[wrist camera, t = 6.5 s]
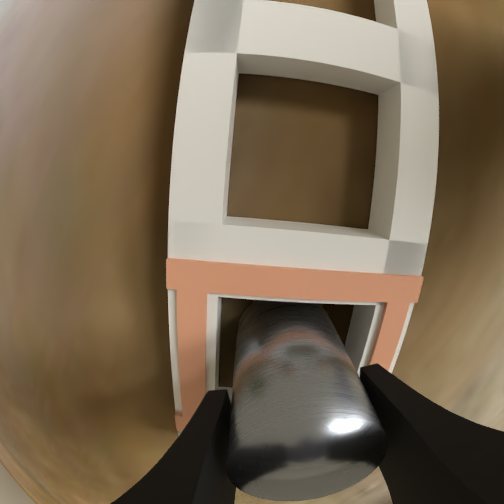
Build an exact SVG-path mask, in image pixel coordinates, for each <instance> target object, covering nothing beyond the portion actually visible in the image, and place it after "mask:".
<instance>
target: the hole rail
mask: <svg viewBox="0 0 504 504" xmlns="http://www.w3.org/2000/svg"><path fill="white" fill-rule="evenodd" d="M374 6H375V16H376V22H375V21H371V20H368V19H365V18H361V17H357V16H353V15H349V14H345V13H341V12H337V11H332V10H327V9H322V8H317V7H311V6H305V5H299V4H292V3H284V2H275V1H264V0H194V5H193V10H192V14H191V19H190V25H189V30H188V35H187V41H186V46H185V52H184V59H183V65H182V72H181V78H180V86H179V93H178V101H177V110H176V119H175V128H174V138H173V150H172V163H171V177H170V195H169V219H168V258H167V259H166V289H168V313H169V337H170V354H171V368H172V381H173V392H174V402H175V412H176V413H175V422H176V430H178V437H179V435H180V434H181V432H182V431H183V429H184V428H185V426H186V425H187V424H188V422H189V421H190V419H191V417H192V416H193V414H194V413H195V411H196V409H197V408H198V406H199V404H200V403H201V401H202V399H203V398H204V396H205V394H206V393H207V392H208V391H209V390H223V389H227V391H228V395H229V398H230V402H231V400H232V388H233V387H221V386H218V381H219V350H220V325H221V303H222V297H227V298H239V299H253V300H268V301H284V302H302V303H324V304H351V305H354V308H353V313H352V317H351V321H350V326H349V330H348V334H347V338H346V342H345V346H344V347H345V349H346V351H347V353H348V355H349V357H350V359H351V361H352V363H353V365H354V367H355V369H356V371H357V373H358V376H359V378H360V367H364V366H368V365H372V364H376V363H378V364H379V365H381V366H382V367H383V368H385V369H386V370H387V371H389V372H390V373H392V371H393V368H394V365H395V363H396V360H397V357H398V354H399V351H400V348H401V345H402V342H403V339H404V336H405V333H406V330H407V327H408V323H409V320H410V317H411V313H412V310H413V306H414V303H417V302H418V299H419V295H420V291H421V287H422V283H423V279H424V277H422V276H421V274H422V270H423V265H424V260H425V255H426V250H427V245H428V239H429V233H430V227H431V221H432V214H433V206H434V198H435V189H436V178H437V165H438V146H439V96H438V78H437V65H436V56H435V47H434V39H433V33H432V26H431V20H430V15H429V10H428V5H427V0H374ZM239 73H242V74H256V75H268V76H278V77H286V78H294V79H301V80H308V81H315V82H320V83H326V84H332V85H337V86H342V87H347V88H351V89H356V90H360V91H364V92H368V93H372V94H376V95H378V129H377V147H376V161H375V173H374V184H373V193H372V202H371V210H370V218H369V225H368V229H361V228H352V227H342V226H333V225H323V224H313V223H302V222H292V221H280V220H269V219H257V218H244V217H231V216H227V203H228V190H229V177H230V164H231V152H232V140H233V129H234V118H235V108H236V97H237V87H238V78H239Z"/></svg>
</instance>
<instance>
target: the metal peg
mask: <svg viewBox="0 0 504 504" xmlns="http://www.w3.org/2000/svg"><path fill="white" fill-rule="evenodd" d="M387 450H388V438H387V435H386V433H385V431H384V429H383V426H382V424H381V422H380V420H379V418H378V416H377V413H376V411H375V409H374V407H373V405H372V403H371V401H370V398H369V396H368V394H367V392H366V390H365V388H364V386H363V384H362V382H361V380H360V378H359V376H358V373H357V371H356V369H355V367H354V365H353V363H352V361H351V359H350V357H349V355H348V353H347V351H346V349H345V347H344V345H343V343H342V341H341V339H340V337H339V335H338V333H337V331H336V329H335V327H334V325H333V323H332V321H331V319H330V317H329V315H328V314H327V312H326V310H325V308H324V307H323V305H322V304H321V303H302V302H284V301H268V300H254V301H253V302H252V303H251V304H250V305H249V306H248V307H247V308H246V309H245V311H244V312H243V314H242V316H241V317H240V320H239V323H238V329H237V341H236V352H235V364H234V376H233V388H232V400H231V413H230V425H229V438H228V450H227V463H226V473H227V476H228V478H229V480H230V481H231V483H232V484H233V485H234V486H236V487H237V488H238V489H240V490H241V491H243V492H245V493H247V494H249V495H252V496H255V497H258V498H262V499H267V500H274V501H302V500H309V499H315V498H320V497H324V496H327V495H330V494H334V493H336V492H339V491H342V490H344V489H346V488H348V487H350V486H352V485H354V484H356V483H358V482H359V481H361V480H362V479H364V478H365V477H367V476H368V475H369V474H370V473H372V472H373V471H374V470H375V469H376V468H377V467H378V466H379V464H380V463H381V462H382V460H383V459H384V457H385V455H386V453H387Z"/></svg>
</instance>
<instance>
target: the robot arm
mask: <svg viewBox="0 0 504 504" xmlns="http://www.w3.org/2000/svg"><path fill="white" fill-rule="evenodd" d="M360 380H361V382H362V384H363V386H364V388H365V390H366V392H367V394H368V396H369V398H370V401H371V403H372V405H373V407H374V409H375V411H376V413H377V416H378V418H379V420H380V422H381V424H382V426H383V429H384V431H385V433H386V435H387V438H388V450H387V453H386V455H385V457H384V459H383V460H382V462H381V463H380V464H379V467H380V470H381V472H382V474H383V476H384V479H385V481H386V483H387V486H388V489H389V492H390V495H391V499H392V502H393V504H504V432H503V431H499V430H496V429H492V428H489V427H486V426H483V425H480V424H477V423H475V422H472V421H470V420H467V419H465V418H463V417H461V416H458V415H456V414H454V413H452V412H450V411H448V410H446V409H445V408H443V407H441V406H439V405H437V404H436V403H434V402H432V401H431V400H429V399H427V398H426V397H424V396H423V395H421V394H420V393H418V392H417V391H415V390H414V389H412V388H411V387H409V386H408V385H406V384H405V383H404V382H402V381H401V380H400V379H398V378H397V377H395V376H394V375H393V374H391V373H390V372H389V371H387V370H386V369H385V368H383V367H382V366H381V365H379V364H378V363H376V364H372V365H368V366H364V367H360ZM230 413H231V402H230V398H229V395H228V391H227V389H223V390H209V391H208V392H207V393H206V394H205V396H204V398H203V399H202V401H201V403H200V404H199V406H198V408H197V409H196V411H195V413H194V414H193V416H192V417H191V419H190V421H189V422H188V424H187V425H186V426H185V428H184V429H183V431H182V432H181V434H180V435H179V437H178V438H177V439H176V441H175V442H174V443H173V444H172V446H171V447H170V448H169V449H168V451H167V452H166V453H165V454H164V456H163V457H162V458H161V459H160V460H159V461H158V463H157V464H156V465H155V466H154V467H153V468H152V469H151V470H150V471H149V472H148V473H147V474H146V475H145V476H144V477H143V478H142V479H141V480H140V481H139V482H137V483H136V484H135V485H134V486H133V487H132V488H130V489H129V490H128V491H127V492H126V493H124V494H123V495H122V496H121V497H119V498H118V499H116V500H115V501H114V502H112V503H111V504H234V500H235V491H236V486H234V485H233V484H232V483H231V481H230V480H229V478H228V476H227V473H226V463H227V450H228V438H229V425H230Z"/></svg>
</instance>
